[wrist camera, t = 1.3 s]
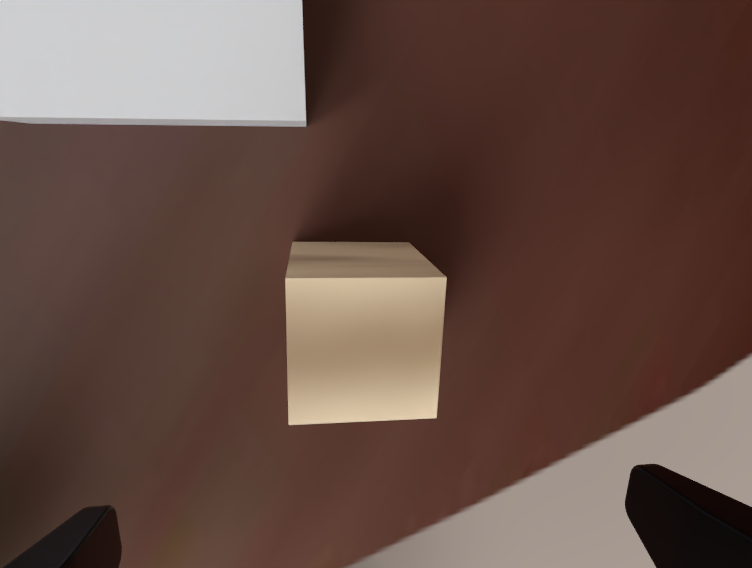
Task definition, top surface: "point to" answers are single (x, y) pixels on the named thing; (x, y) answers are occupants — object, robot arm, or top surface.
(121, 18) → the white block
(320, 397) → the beech cube
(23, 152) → the top surface
